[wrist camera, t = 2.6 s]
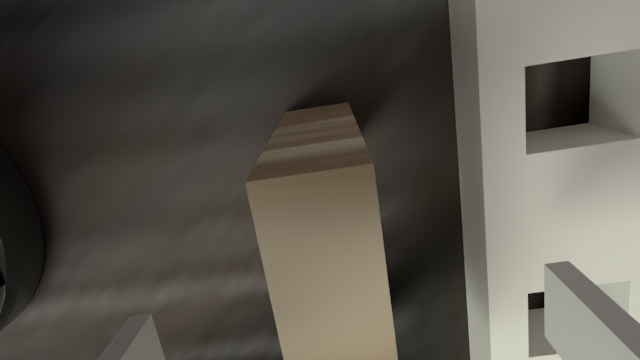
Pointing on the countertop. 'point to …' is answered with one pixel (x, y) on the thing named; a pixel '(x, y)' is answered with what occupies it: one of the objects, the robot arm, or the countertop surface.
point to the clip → (322, 238)
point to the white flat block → (544, 163)
